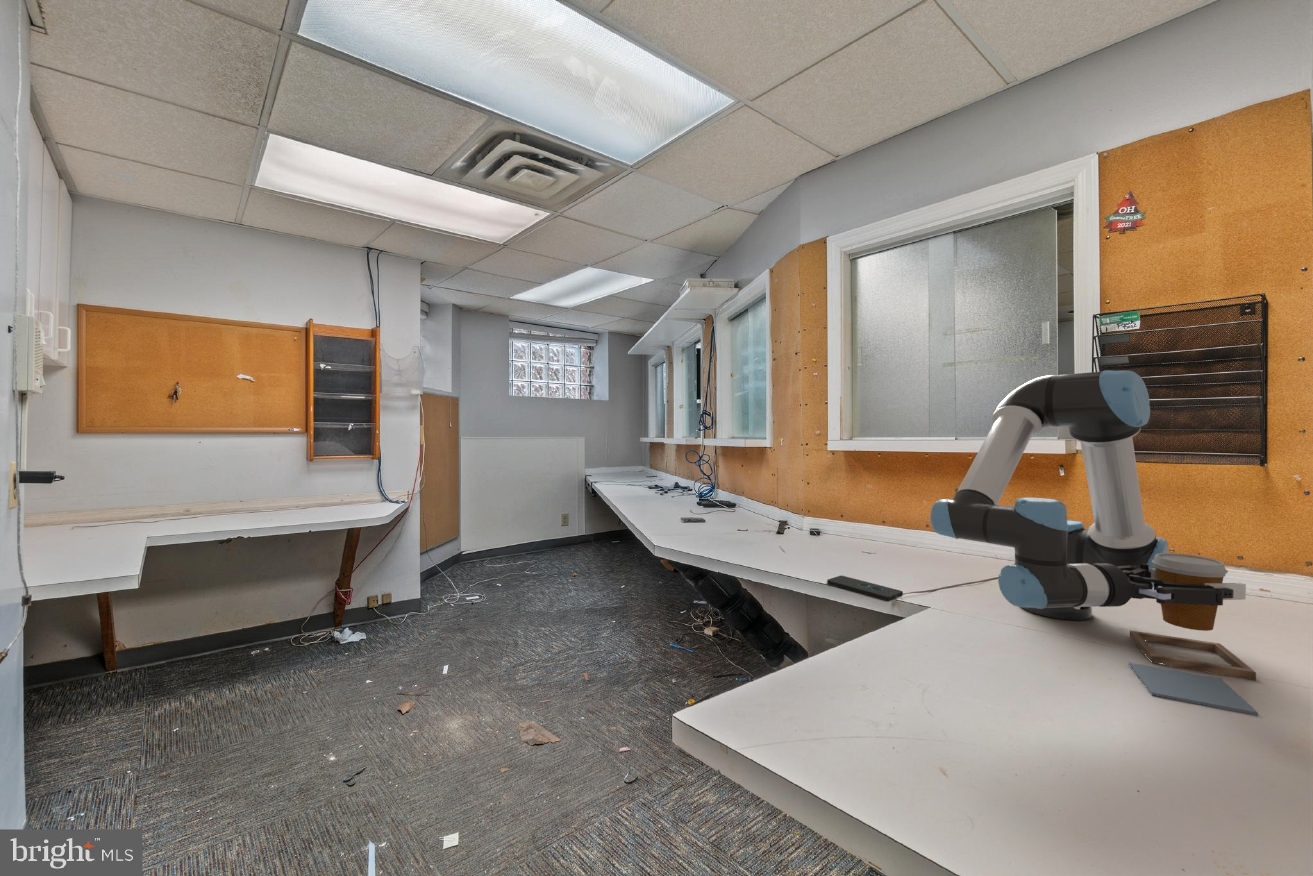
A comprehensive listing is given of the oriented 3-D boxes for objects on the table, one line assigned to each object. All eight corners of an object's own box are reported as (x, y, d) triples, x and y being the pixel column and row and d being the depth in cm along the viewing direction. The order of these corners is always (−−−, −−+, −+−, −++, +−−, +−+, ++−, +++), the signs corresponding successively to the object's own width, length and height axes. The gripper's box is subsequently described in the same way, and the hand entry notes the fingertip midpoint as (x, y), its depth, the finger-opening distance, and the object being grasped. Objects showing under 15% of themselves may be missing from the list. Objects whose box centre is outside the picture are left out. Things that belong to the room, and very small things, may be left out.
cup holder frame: (1151, 662, 101) (1151, 655, 101) (1129, 636, 114) (1129, 630, 114) (1255, 680, 94) (1256, 672, 94) (1219, 650, 107) (1219, 643, 107)
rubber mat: (1151, 695, 90) (1151, 692, 90) (1128, 664, 101) (1128, 662, 101) (1257, 715, 83) (1258, 712, 83) (1220, 680, 94) (1220, 678, 94)
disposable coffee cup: (1191, 615, 96) (1191, 552, 96) (1244, 635, 86) (1245, 566, 86) (1136, 613, 97) (1137, 552, 97) (1183, 633, 87) (1184, 565, 87)
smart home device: (888, 596, 139) (826, 579, 155) (888, 603, 139) (826, 585, 155) (903, 590, 144) (841, 574, 160) (903, 596, 144) (841, 580, 160)
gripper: (1044, 587, 102) (1152, 585, 102) (1152, 629, 80) (1287, 626, 81) (1045, 550, 101) (1153, 548, 102) (1152, 582, 80) (1288, 580, 81)
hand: (1212, 582), depth 92 cm, fingers closed on disposable coffee cup, 8 cm apart
